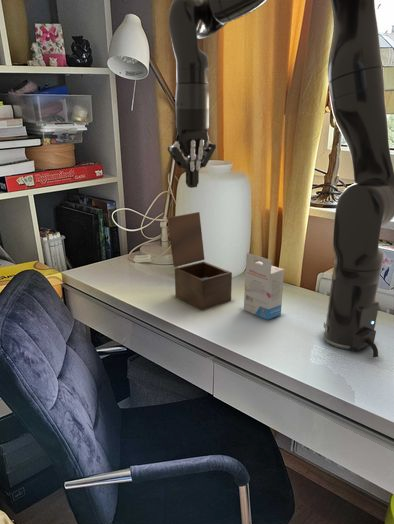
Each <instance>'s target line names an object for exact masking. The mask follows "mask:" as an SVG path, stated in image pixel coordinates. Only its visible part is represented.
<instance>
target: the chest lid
mask: <svg viewBox="0 0 394 524" xmlns="http://www.w3.org/2000/svg"><path fill="white" fill-rule="evenodd" d="M167 226H168V233H169V241H170V248H171V249H170V250H171V257H172V265H173V268H174V267H175V268H178V267H182V266H186V265H190V264H195V263H199V262H203V261H205V253H204V251H205V250H204V241H203V233H202V223H201V214H200V212H199V211H197V212H191V213H185V214H180V215H175V216H174V215H173V216H169V217H167Z"/></svg>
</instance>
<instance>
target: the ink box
mask: <svg viewBox="0 0 394 524" xmlns="http://www.w3.org/2000/svg"><path fill="white" fill-rule="evenodd" d="M245 256H246V257H245V258H246V259H245V271H244V273H245V274H244V296H243V297H244V298H243V310H244V311H245V312H248V313H250V314H253V315H255V316H258V317H259V318H262V319H264V320H266V321H269V320H272V319H274V318H276V317H278V316H281V315H282V303H283V293H284V292H283V291H284V278H285V269H284V268H281V267H277V266H274V265H273V260H271V259H269V258H266V257H262V256H260V255H256V254H253V253H249V252H247V253H246V255H245ZM255 261H256V262H255Z"/></svg>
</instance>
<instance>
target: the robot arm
mask: <svg viewBox="0 0 394 524" xmlns="http://www.w3.org/2000/svg"><path fill="white" fill-rule="evenodd" d="M268 1H269V0H172V2H171V4H170V7H169V11H168V17H167V19H168V20H167V21H168V22H167V23H168V31H169V36H170V40H171V44H172V49H173V54H174V58H175V61H176V62H175V63H176V68H175V69H176V78H175V79H176V85H175V86H176V87H175V128H176V136H175V142H174V143H173V144H172V145H169V146H167V152H168V153H169V155H170V156H171V158H172V159H173V161H174V162H175V164H176V165H177V167H178V168H179V169H182V170H184V171H185V185H186V186H187V187H188V188H191V189H194V188H197V187H198V185H199V181H200V180H199V179H200V174H199V173H200V170H201V169H202V168H206V166H207V165H208V163H209V161H210V160H211V157H212V156H213V155H214V152H215V150H216V149H217V145H216V144H215V143H212V142H211V140H210V137H209V134H208V130H209V128H210V88H209V80H210V79H209V77H210V76H209V75H210V74H209V73H210V69H209V68H210V66H209V65H210V61H209V57H208V54H206V53H205V52H203V51H202V50H201V49H200V46H199V41H198V39H205V38H208V37H211V36H212V35H214V34H216V33H218V32H219V31H220V30H222V29H223V28H224V27H225V26H226V25H227V24H228V23H230V22H233V21H236V20H238V19H240V18H242V17H244V16H247V15H249V14H250V13H253V12H255V11H256V10H258V9H260V8H261V7H262V6H264V5H265V4H266V3H268ZM330 2H331V10H332V19H333V22H332V23H333V26H332V27H333V28H332V37H331V44H330V48H329V54H328V62H327V83H328V90H329V99H330V105H331V106H330V107H331V110H332V115H333V118H334V120H335V123H336V126H337V127H338V130H339V132H340V134H341V136H342V138H343V139H344V142H345V144H346V146H347V148H348V152H349V153H350V154H349V155H350V158H351V162H352V163H351V164H352V170H353V178H354V179H353V182H354V183H353V184H351V185H349V186H347V187H346V188H345V189H344V190H343V191H342V192H341V194H340V195H339V198H338V200H337V203H336V207H335V213H334V222H333V235H332V250H333V253H334V259H333V260H334V261H333V268H332V276H331V283H330V290H329V296H328V305H327V312H326V320H325V321H323V328H324V332H323V340H324V342H326V343H327V344H328V345H330V346H332V347H335V348H339V349H343V350H350V351H353V352H356V351H358V350H362V349H363V348H366V347H370V348H371V350H372V358H378V357H379V349H378V346H377V345H376V344H375V339H376V334H377V330H375V328H376V323H377V317H378V314H379V313H378V312H379V307H380V302H378V301H376V299H377V293H378V290H379V289H378V287H379V283H380V279H381V272H382V267H383V262H384V252H383V250H382V249H380V248H379V244H380V236H381V231H382V227H383V226H385V225H387V224H389V223H390V222H391V221H392V220H393V219H394V166H393V160H392V156H391V149H390V141H389V126H388V116H387V105H386V90H385V79H384V69H383V62H382V54H381V46H380V45H381V44H380V35H379V27H378V21H377V15H376V14H377V13H376V5H375V4H376V3H375V0H330Z"/></svg>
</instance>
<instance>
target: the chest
mask: <svg viewBox="0 0 394 524" xmlns="http://www.w3.org/2000/svg"><path fill="white" fill-rule="evenodd" d="M204 277H208V278H205V279H201V278H204ZM232 280H233V273H232V271H229V270H226V269H224V268H221V267H219V266H217V265H214V264H211V263H210V262H207V261H205V260H202V261H198V262H194V263H190V264H186V265H182V266H178V267H175V268H174V285H175V286H174V289H175V290H174V291H175V298H178V299H179V300H181V301H183V302H185V303H187V304H189V305H191V306H193V307H195V308H197V309H199V310H201V311H204V310H207V309H210V308H213V307H217V306H220V305H223V304H226V303H230V302H232V285H233V284H232V283H233V281H232Z"/></svg>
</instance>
